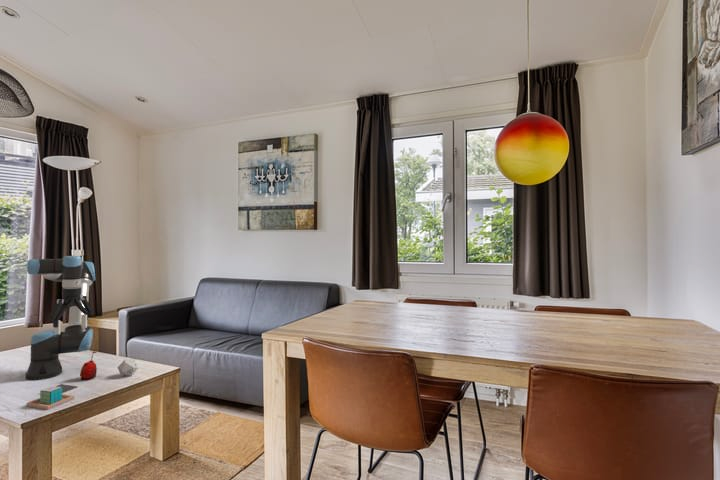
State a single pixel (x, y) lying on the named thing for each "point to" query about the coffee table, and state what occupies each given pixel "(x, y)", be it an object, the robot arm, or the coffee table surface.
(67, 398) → the square tray
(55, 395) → the puzzle toy
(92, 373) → the red clay folk toy
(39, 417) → the coffee table surface
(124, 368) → the die
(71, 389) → the ink pad
